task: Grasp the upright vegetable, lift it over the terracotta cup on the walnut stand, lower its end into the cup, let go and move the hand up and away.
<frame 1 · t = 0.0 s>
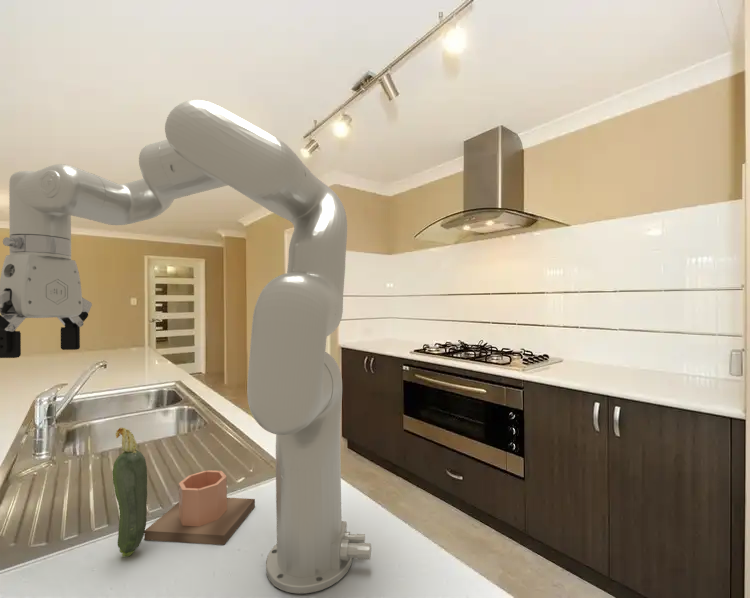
hand: (42, 353, 60), 31 cm above the countertop, tool pointing down, fingers open, 9 cm apart
vegetable: (130, 558, 56), on the countertop
stand: (203, 522, 65), on the countertop
cup: (203, 496, 65), on the stand, point 4 cm above the countertop
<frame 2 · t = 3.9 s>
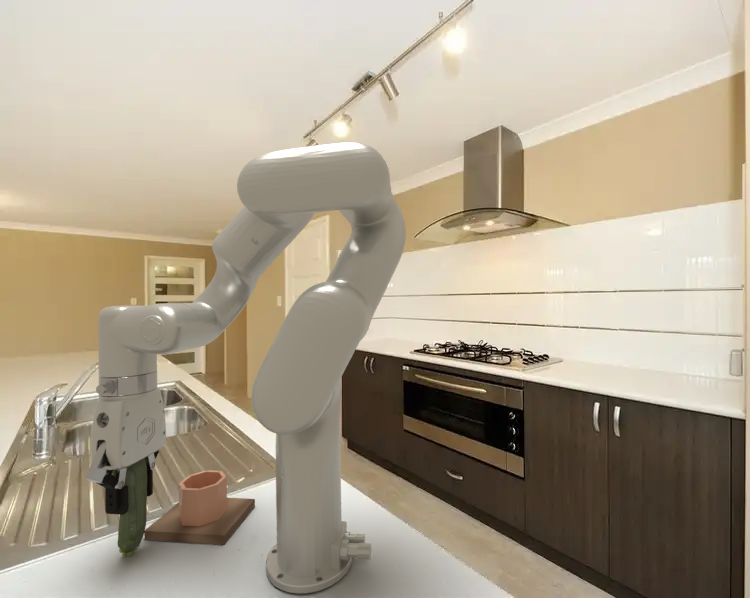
hand: (130, 502, 56), 8 cm above the countertop, tool pointing down, fingers closed on vegetable, 4 cm apart
vegetable: (130, 558, 56), on the countertop, touching gripper
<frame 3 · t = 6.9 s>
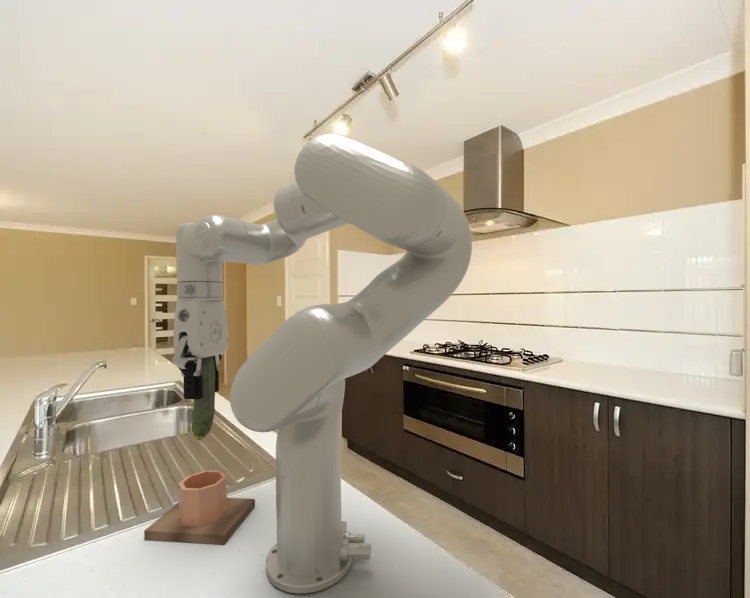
hand: (202, 394, 65), 23 cm above the countertop, tool pointing down, fingers closed on vegetable, 4 cm apart
vegetable: (202, 442, 65), point 14 cm above the countertop, touching gripper
when the fingers open (12 cm above the countertop, at t = 10.1 s): vegetable stays where it is, resting on cup.
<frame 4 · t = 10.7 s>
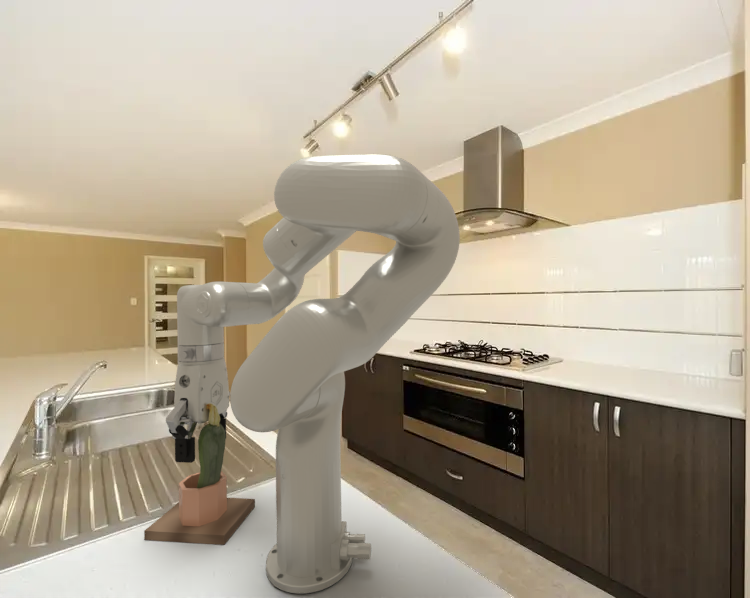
hand: (202, 449, 65), 13 cm above the countertop, tool pointing down, fingers open, 9 cm apart
vegetable: (203, 509, 65), point 2 cm above the countertop, touching cup
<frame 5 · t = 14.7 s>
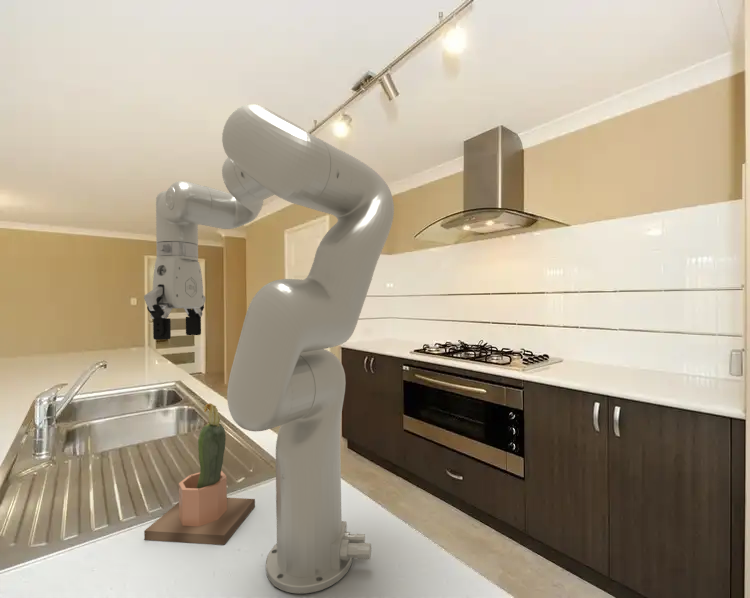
hand: (178, 337, 74), 32 cm above the countertop, tool pointing down, fingers open, 9 cm apart
nothing on the countertop moved.
at the end: vegetable 0.1 cm off-centre on the cup, point 2.2 cm above the cup's base; vegetable tilted 14°; the gripper is holding nothing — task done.
